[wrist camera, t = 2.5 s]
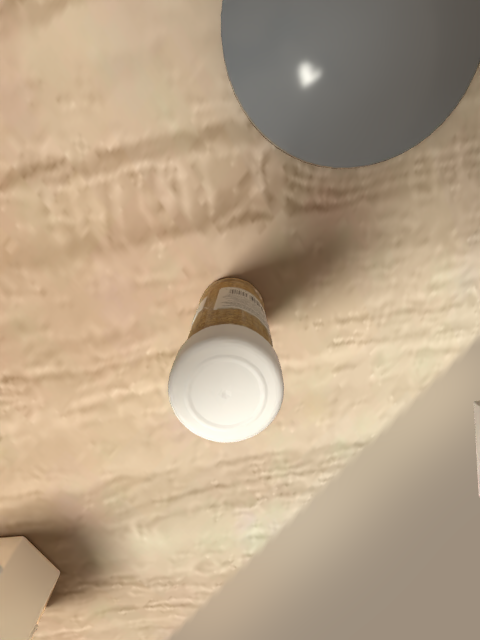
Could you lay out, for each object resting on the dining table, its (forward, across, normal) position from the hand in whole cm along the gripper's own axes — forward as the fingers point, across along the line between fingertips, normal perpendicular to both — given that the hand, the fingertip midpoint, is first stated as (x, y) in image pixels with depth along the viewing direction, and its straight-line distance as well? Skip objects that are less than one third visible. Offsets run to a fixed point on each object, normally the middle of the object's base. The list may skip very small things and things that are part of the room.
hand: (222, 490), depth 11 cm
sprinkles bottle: (+19, 0, 0) cm, 19 cm away
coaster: (+19, +10, +15) cm, 26 cm away
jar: (+19, -23, -19) cm, 35 cm away
